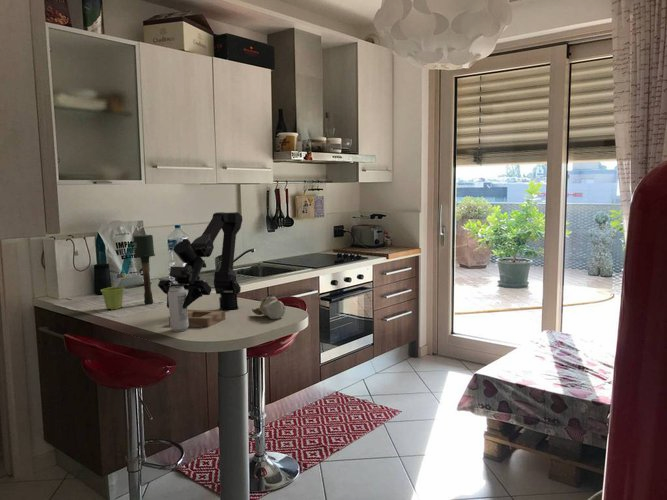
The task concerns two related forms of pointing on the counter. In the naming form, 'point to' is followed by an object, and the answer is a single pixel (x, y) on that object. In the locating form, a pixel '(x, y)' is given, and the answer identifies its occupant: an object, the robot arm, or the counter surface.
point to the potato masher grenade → (145, 261)
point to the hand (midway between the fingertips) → (175, 307)
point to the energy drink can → (177, 309)
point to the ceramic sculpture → (271, 308)
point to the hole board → (204, 317)
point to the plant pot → (113, 297)
